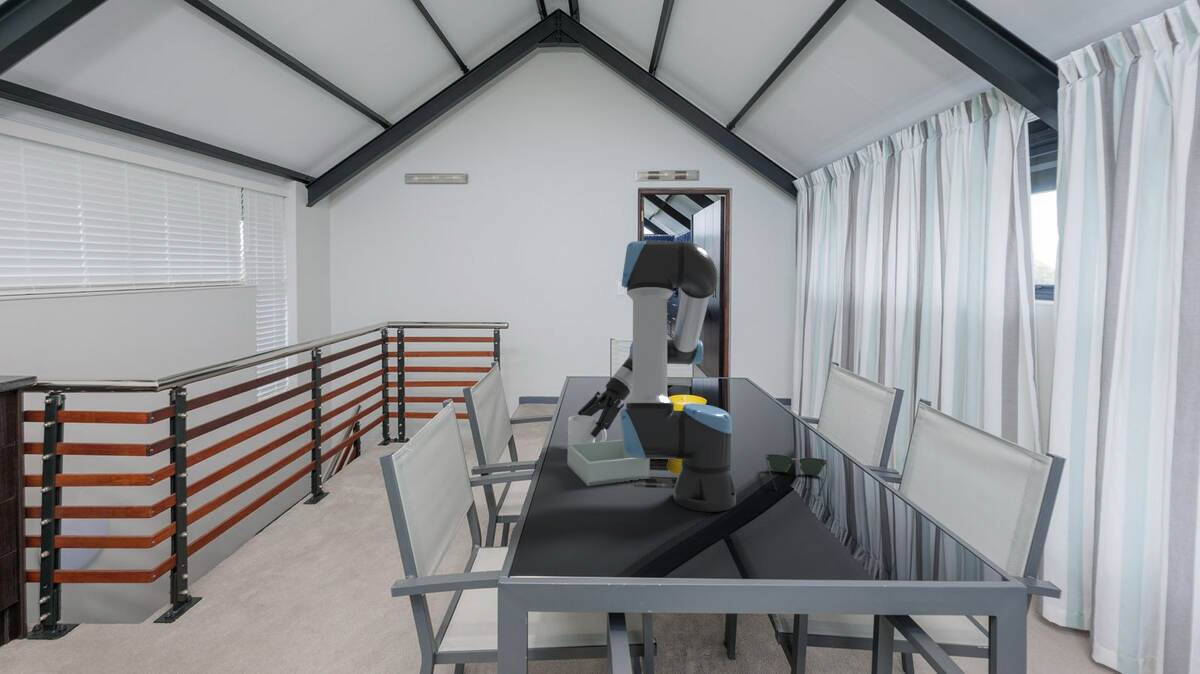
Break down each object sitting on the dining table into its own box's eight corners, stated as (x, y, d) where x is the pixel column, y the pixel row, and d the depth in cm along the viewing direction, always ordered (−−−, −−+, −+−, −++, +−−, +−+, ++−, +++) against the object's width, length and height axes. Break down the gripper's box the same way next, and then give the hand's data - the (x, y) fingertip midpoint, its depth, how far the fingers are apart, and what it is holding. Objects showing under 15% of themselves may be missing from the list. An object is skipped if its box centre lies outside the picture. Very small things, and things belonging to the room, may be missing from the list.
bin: (649, 478, 159) (649, 456, 158) (588, 486, 153) (588, 463, 152) (623, 458, 175) (624, 439, 175) (567, 465, 169) (567, 444, 168)
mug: (608, 448, 185) (608, 416, 184) (604, 456, 177) (604, 423, 176) (571, 446, 187) (571, 414, 186) (565, 454, 179) (565, 421, 178)
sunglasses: (763, 491, 152) (764, 472, 151) (764, 470, 168) (765, 453, 168) (831, 498, 147) (833, 479, 147) (825, 476, 164) (826, 459, 163)
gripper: (647, 398, 180) (602, 456, 174) (610, 385, 198) (568, 437, 192) (633, 382, 177) (586, 441, 170) (597, 371, 195) (553, 424, 189)
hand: (577, 439), depth 181 cm, fingers closed on mug, 9 cm apart
